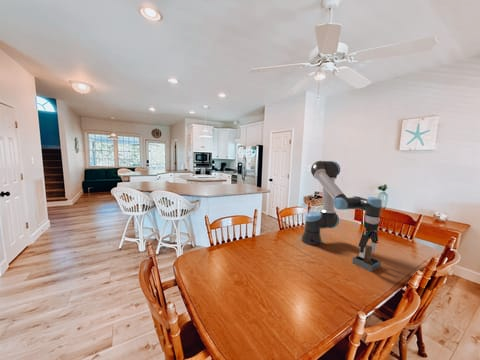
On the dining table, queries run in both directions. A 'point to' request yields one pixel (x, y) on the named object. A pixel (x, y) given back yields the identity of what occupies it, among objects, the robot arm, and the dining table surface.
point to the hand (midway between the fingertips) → (367, 254)
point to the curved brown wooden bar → (367, 254)
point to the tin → (371, 267)
